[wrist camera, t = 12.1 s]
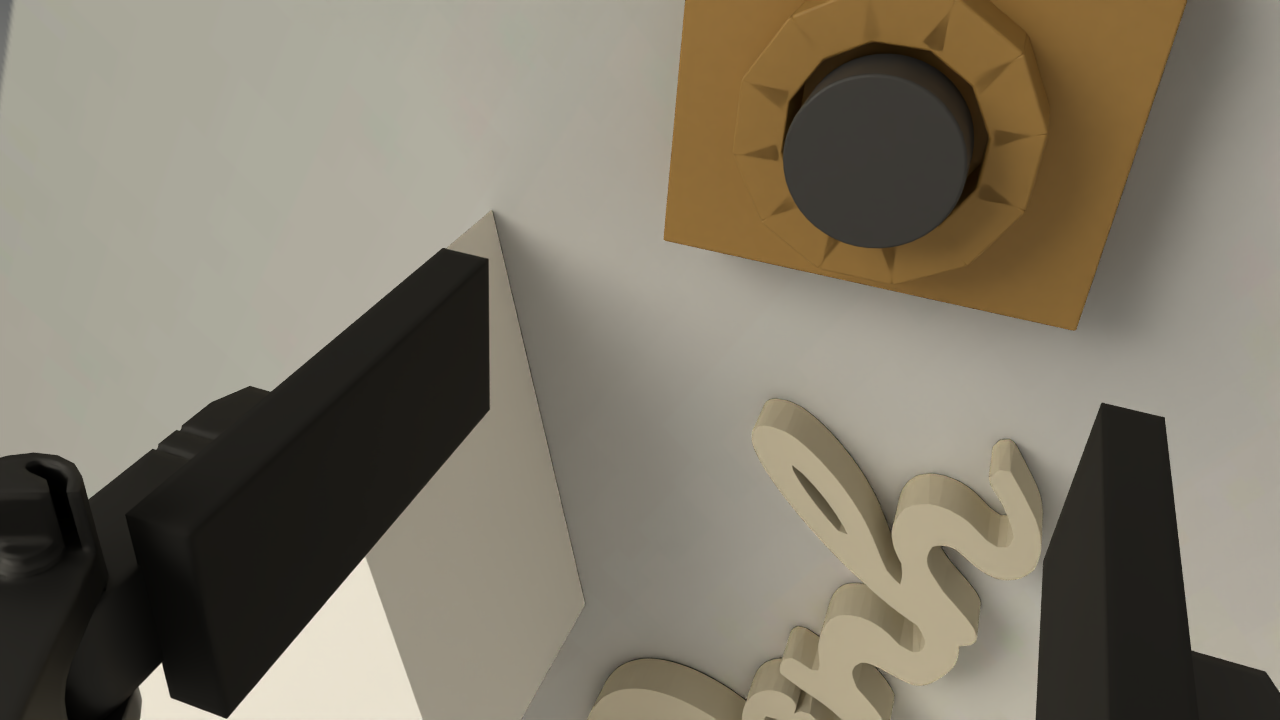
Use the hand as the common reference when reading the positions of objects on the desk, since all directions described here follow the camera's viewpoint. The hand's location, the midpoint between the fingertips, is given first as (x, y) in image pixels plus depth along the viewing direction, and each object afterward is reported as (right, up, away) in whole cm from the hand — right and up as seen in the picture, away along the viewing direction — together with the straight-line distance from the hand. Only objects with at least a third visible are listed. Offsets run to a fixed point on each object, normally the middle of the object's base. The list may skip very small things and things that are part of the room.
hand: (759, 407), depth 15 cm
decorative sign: (+4, -9, +23) cm, 25 cm away
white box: (-10, -6, +27) cm, 29 cm away
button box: (+5, +8, +12) cm, 15 cm away
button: (+4, +6, +9) cm, 12 cm away
